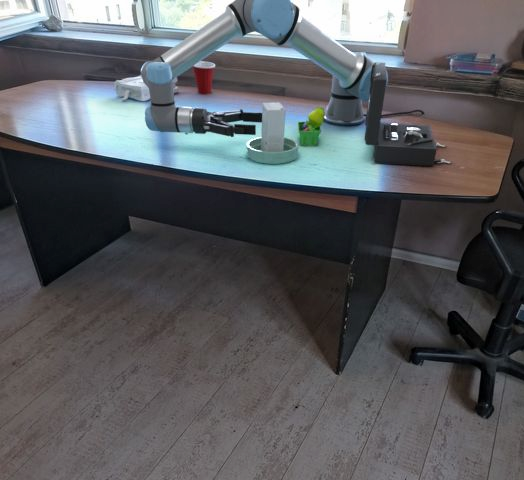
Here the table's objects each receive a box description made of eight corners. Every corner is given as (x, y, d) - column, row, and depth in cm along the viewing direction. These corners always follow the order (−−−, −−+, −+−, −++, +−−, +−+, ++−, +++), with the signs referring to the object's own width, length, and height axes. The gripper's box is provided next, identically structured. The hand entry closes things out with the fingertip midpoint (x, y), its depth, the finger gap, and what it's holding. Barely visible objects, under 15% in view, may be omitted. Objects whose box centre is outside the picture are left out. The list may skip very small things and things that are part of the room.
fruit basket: (297, 136, 174) (298, 102, 166) (321, 136, 174) (324, 102, 166) (297, 146, 165) (299, 111, 158) (323, 147, 165) (326, 111, 158)
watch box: (451, 168, 150) (474, 80, 134) (360, 162, 153) (372, 76, 137) (442, 142, 169) (461, 62, 153) (362, 138, 173) (372, 59, 157)
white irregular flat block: (106, 98, 215) (102, 79, 210) (151, 87, 232) (149, 68, 227) (136, 105, 206) (132, 85, 201) (181, 92, 224) (179, 74, 219)
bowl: (299, 149, 163) (300, 137, 161) (294, 166, 151) (295, 154, 148) (251, 146, 165) (251, 135, 162) (242, 163, 152) (242, 151, 150)
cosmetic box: (260, 151, 160) (260, 102, 150) (278, 150, 161) (279, 101, 151) (266, 159, 154) (266, 109, 144) (284, 158, 155) (286, 108, 145)
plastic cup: (207, 96, 218) (205, 66, 210) (188, 93, 222) (186, 63, 215) (221, 91, 225) (220, 62, 217) (202, 88, 229) (201, 60, 222)
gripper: (204, 122, 166) (265, 125, 164) (184, 145, 147) (252, 148, 145) (202, 98, 161) (265, 100, 159) (181, 118, 143) (252, 122, 140)
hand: (259, 123), depth 152 cm, fingers open, 13 cm apart
